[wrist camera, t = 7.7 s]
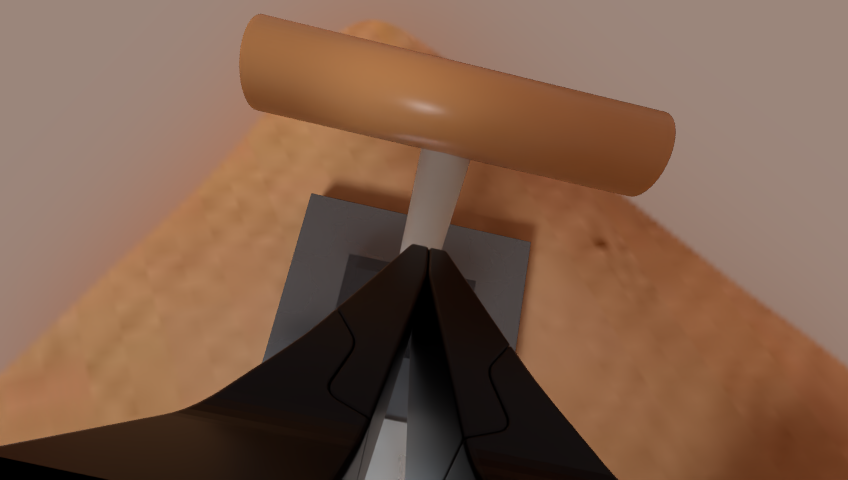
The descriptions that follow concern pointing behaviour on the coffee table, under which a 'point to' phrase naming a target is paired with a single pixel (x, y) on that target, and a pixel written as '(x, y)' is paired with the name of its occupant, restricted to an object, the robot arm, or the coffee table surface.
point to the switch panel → (385, 245)
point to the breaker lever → (450, 116)
